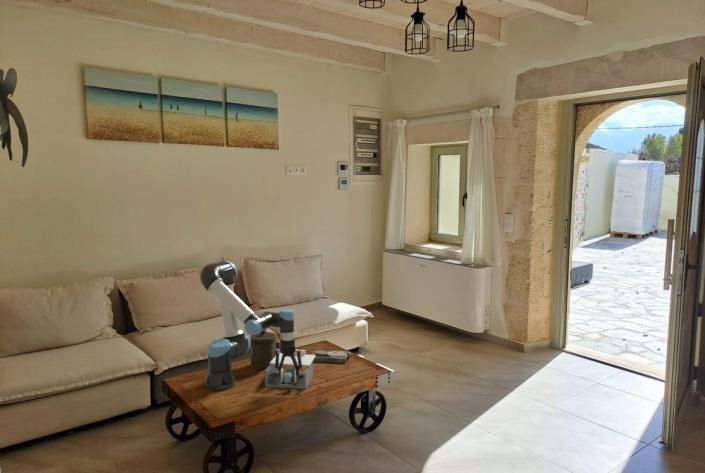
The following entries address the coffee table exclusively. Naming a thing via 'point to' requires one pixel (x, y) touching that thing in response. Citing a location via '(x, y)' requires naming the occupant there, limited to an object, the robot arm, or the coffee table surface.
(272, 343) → the wooden container
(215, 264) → the robot arm
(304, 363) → the lid
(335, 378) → the coffee table surface
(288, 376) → the peg
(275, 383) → the housing
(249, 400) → the coffee table surface
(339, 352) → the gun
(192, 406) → the coffee table surface
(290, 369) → the jaw peg seated
